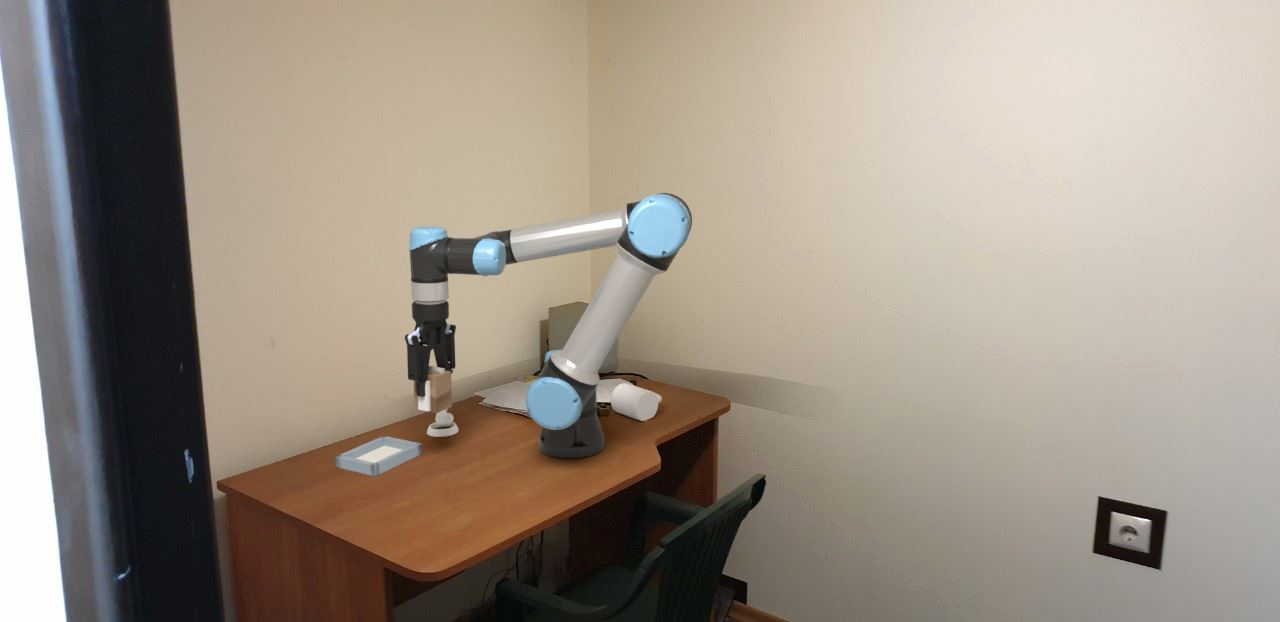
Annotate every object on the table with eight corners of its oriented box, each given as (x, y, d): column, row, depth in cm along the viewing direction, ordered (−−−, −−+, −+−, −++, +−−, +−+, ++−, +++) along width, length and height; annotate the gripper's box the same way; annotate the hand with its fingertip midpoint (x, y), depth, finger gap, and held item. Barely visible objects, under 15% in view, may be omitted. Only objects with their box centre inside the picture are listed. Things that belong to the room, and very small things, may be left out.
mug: (635, 424, 195) (636, 394, 193) (610, 415, 202) (610, 386, 200) (669, 414, 203) (670, 385, 201) (644, 405, 210) (644, 377, 208)
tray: (422, 453, 175) (421, 443, 174) (375, 476, 162) (374, 465, 162) (384, 445, 180) (383, 435, 179) (335, 467, 167) (335, 456, 167)
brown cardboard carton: (451, 406, 168) (451, 366, 166) (436, 413, 163) (435, 371, 162) (430, 402, 170) (429, 362, 168) (414, 408, 166) (413, 367, 164)
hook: (463, 400, 197) (465, 391, 191) (455, 445, 192) (457, 438, 186) (433, 395, 196) (435, 387, 189) (424, 441, 190) (426, 434, 184)
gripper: (444, 292, 172) (447, 392, 176) (385, 305, 156) (390, 415, 160) (471, 296, 169) (473, 397, 173) (414, 309, 153) (418, 421, 157)
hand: (433, 406), depth 167 cm, fingers closed on brown cardboard carton, 5 cm apart
